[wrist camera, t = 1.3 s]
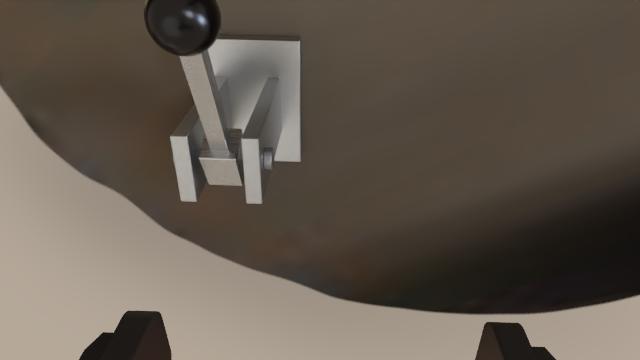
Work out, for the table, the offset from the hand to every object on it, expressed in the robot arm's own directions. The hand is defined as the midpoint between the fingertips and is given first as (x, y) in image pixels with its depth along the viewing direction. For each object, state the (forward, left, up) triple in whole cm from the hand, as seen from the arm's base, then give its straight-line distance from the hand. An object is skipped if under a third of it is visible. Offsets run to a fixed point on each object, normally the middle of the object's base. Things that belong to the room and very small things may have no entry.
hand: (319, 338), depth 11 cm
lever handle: (-1, -7, -16) cm, 17 cm away
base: (+4, -7, -27) cm, 28 cm away
